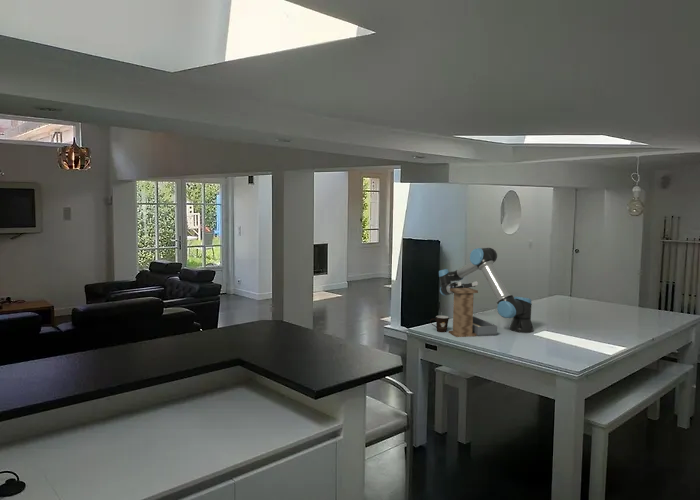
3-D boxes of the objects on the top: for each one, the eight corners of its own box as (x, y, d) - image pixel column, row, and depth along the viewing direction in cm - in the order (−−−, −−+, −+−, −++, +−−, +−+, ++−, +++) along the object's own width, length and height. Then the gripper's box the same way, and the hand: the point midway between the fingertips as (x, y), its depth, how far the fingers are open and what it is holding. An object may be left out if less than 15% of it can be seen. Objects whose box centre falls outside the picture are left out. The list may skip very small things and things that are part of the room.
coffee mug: (449, 331, 361) (450, 316, 360) (446, 333, 353) (446, 318, 353) (432, 328, 366) (433, 314, 365) (429, 331, 358) (429, 316, 357)
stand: (467, 331, 359) (469, 287, 357) (476, 336, 347) (477, 290, 345) (448, 332, 355) (449, 288, 353) (456, 337, 344) (458, 291, 341)
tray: (473, 324, 382) (473, 316, 382) (497, 335, 351) (497, 326, 351) (455, 325, 378) (456, 317, 378) (477, 336, 348) (478, 327, 347)
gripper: (468, 292, 400) (484, 288, 381) (439, 293, 392) (454, 289, 372) (467, 282, 402) (483, 277, 382) (438, 283, 393) (453, 278, 374)
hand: (469, 283), depth 377 cm, fingers open, 13 cm apart
